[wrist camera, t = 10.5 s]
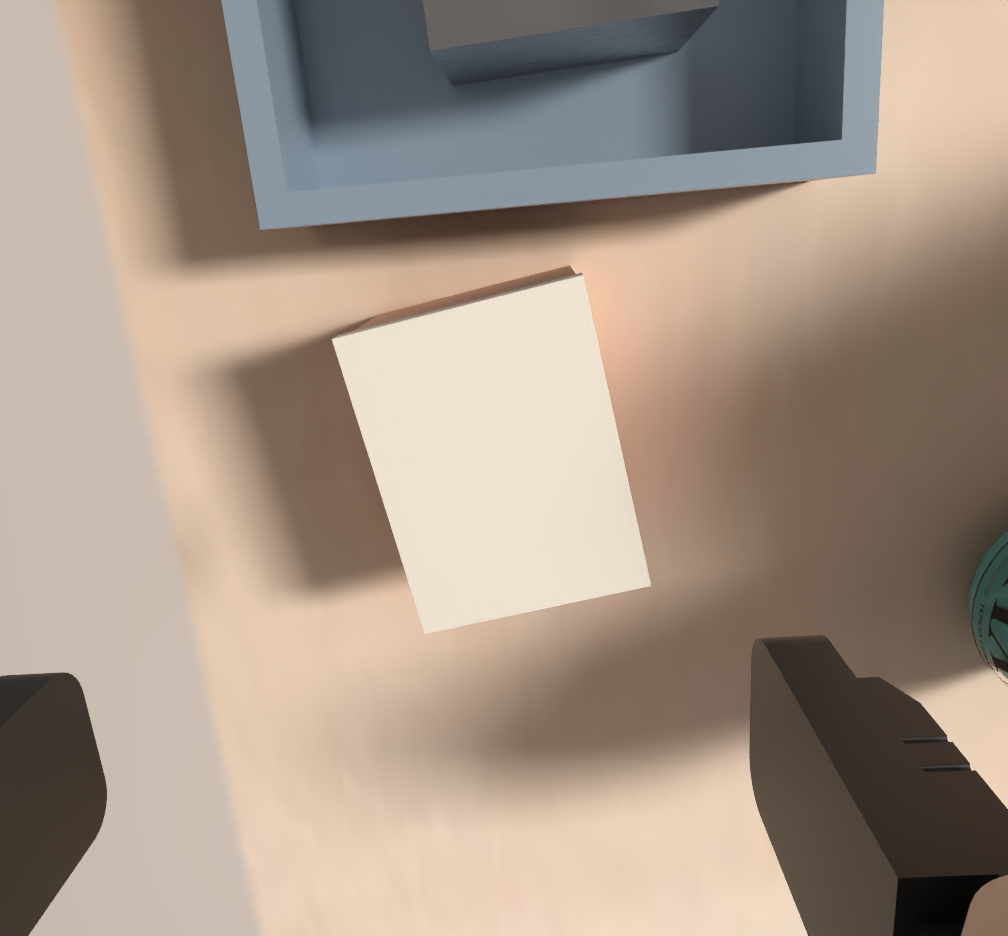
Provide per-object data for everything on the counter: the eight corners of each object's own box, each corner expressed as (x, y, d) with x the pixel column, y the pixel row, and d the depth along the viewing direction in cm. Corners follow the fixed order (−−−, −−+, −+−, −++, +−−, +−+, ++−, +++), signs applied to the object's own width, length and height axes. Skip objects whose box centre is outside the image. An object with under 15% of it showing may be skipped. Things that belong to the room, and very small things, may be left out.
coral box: (572, 261, 24) (583, 275, 19) (627, 511, 26) (651, 585, 21) (374, 311, 25) (331, 339, 20) (445, 552, 27) (424, 633, 22)
